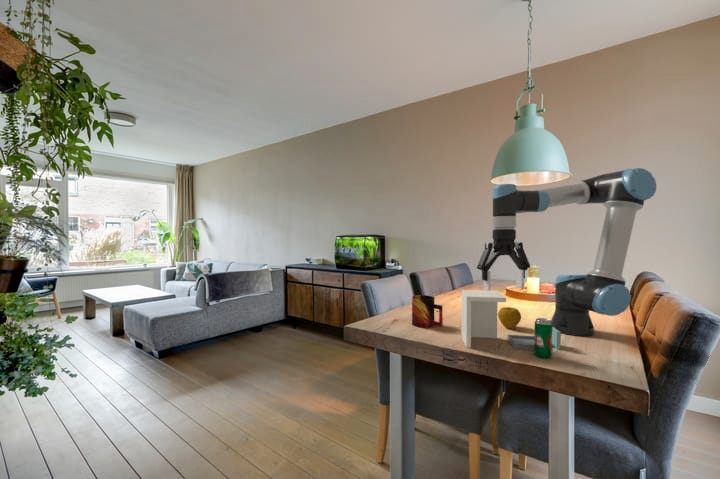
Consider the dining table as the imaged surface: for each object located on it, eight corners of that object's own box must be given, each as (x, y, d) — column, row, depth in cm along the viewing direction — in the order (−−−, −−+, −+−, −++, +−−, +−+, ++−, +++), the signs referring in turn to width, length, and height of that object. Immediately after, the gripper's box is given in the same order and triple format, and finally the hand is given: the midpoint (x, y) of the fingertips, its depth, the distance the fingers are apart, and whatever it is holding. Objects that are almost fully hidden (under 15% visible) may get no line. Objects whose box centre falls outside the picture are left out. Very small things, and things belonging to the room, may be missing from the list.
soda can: (530, 353, 109) (531, 317, 109) (545, 353, 110) (545, 317, 110) (540, 359, 104) (541, 322, 104) (555, 358, 105) (556, 321, 104)
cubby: (496, 337, 126) (497, 291, 125) (505, 349, 113) (506, 297, 112) (461, 335, 128) (461, 290, 127) (466, 347, 115) (466, 296, 115)
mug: (442, 330, 136) (442, 301, 135) (409, 326, 141) (409, 298, 141) (445, 323, 145) (445, 296, 144) (414, 320, 150) (414, 294, 150)
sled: (550, 341, 121) (551, 325, 121) (563, 351, 111) (563, 334, 111) (507, 339, 124) (507, 323, 124) (515, 349, 114) (515, 331, 113)
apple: (514, 324, 144) (514, 304, 143) (525, 330, 135) (525, 309, 134) (494, 324, 143) (494, 304, 143) (503, 330, 134) (504, 309, 134)
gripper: (525, 228, 122) (525, 285, 122) (466, 228, 116) (466, 288, 116) (541, 228, 115) (541, 288, 115) (479, 228, 108) (479, 292, 109)
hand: (503, 289), depth 116 cm, fingers open, 13 cm apart
